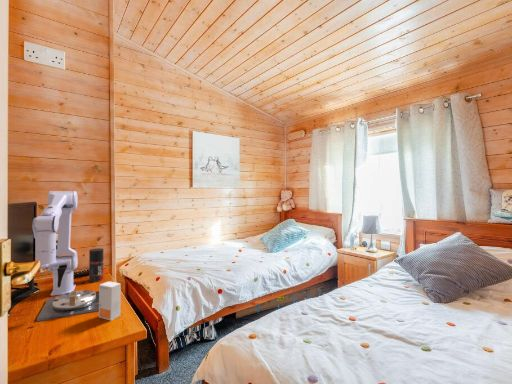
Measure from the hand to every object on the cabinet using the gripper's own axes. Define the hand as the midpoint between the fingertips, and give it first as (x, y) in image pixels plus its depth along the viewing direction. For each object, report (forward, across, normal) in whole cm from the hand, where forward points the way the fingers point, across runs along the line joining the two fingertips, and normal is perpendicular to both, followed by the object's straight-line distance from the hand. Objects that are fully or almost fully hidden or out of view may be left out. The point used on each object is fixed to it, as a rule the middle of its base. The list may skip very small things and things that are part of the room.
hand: (45, 288), depth 95 cm
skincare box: (+11, +20, -10) cm, 24 cm away
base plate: (+10, +8, +6) cm, 15 cm away
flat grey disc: (+9, +8, +6) cm, 13 cm away
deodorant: (+11, +14, +34) cm, 39 cm away
